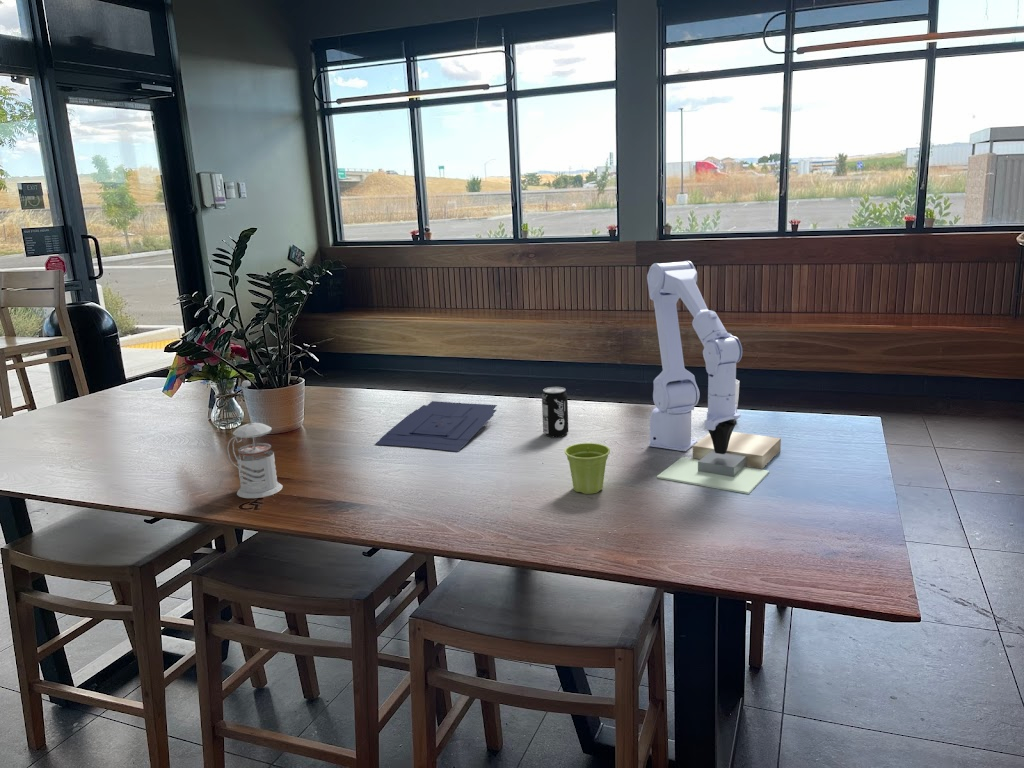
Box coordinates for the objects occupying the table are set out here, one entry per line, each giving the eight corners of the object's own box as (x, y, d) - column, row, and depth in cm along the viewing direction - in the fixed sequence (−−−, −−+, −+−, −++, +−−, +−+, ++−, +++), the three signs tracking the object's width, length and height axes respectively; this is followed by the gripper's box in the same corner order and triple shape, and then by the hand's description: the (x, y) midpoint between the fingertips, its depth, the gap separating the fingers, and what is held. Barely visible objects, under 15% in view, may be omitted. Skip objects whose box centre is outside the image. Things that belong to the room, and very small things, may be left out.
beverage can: (573, 432, 203) (571, 387, 200) (560, 439, 197) (559, 393, 195) (551, 429, 206) (549, 385, 203) (538, 436, 201) (536, 391, 198)
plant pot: (616, 494, 160) (615, 454, 158) (571, 499, 158) (570, 459, 156) (603, 479, 169) (602, 441, 167) (561, 483, 167) (560, 445, 165)
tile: (697, 471, 170) (697, 461, 169) (710, 460, 176) (711, 450, 176) (733, 477, 165) (734, 467, 165) (745, 465, 172) (746, 456, 171)
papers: (504, 414, 218) (503, 402, 217) (460, 461, 192) (458, 448, 191) (427, 409, 227) (426, 397, 226) (375, 453, 201) (373, 441, 200)
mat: (656, 477, 168) (656, 476, 168) (681, 458, 179) (681, 457, 179) (748, 494, 157) (748, 492, 157) (769, 472, 168) (769, 470, 168)
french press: (264, 500, 166) (249, 386, 160) (220, 495, 170) (204, 384, 164) (291, 483, 175) (278, 376, 169) (249, 479, 179) (235, 374, 173)
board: (692, 458, 179) (692, 445, 178) (714, 441, 190) (714, 429, 190) (762, 468, 170) (762, 455, 170) (780, 450, 181) (780, 438, 181)
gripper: (728, 403, 159) (727, 465, 163) (750, 387, 171) (749, 446, 174) (695, 399, 163) (695, 460, 167) (719, 384, 175) (718, 441, 178)
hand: (720, 452), depth 171 cm, fingers closed
